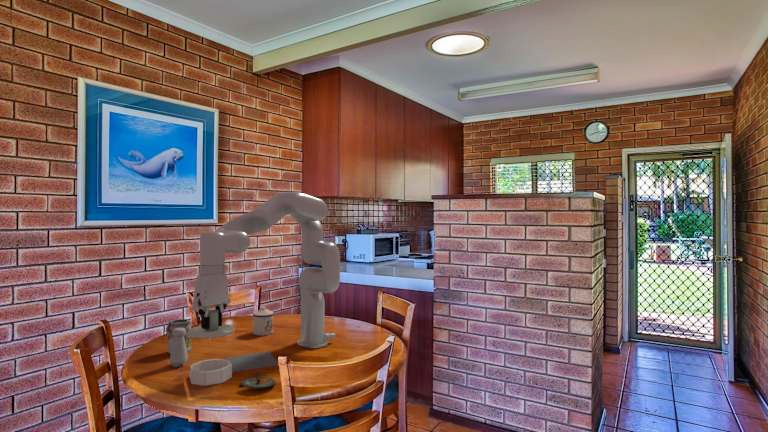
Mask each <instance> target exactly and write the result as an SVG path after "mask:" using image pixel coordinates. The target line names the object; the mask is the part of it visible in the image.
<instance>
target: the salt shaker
mask: <svg viewBox="0 0 768 432" xmlns="http://www.w3.org/2000/svg"><path fill="white" fill-rule="evenodd" d="M185 333H186V330H185V329H184V328H175V329H174V330H173V331H172V335H173V336H174V341H173V346H172V351H171V355H170V354H169V356H170V357H169V362H170V364H171V366H172V367H173V368H181V367H184V364H186V363H187V361H188V359H189V355H188V352H187V349H186V344H185V339H184V335H185Z"/></svg>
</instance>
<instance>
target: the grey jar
mask: <svg viewBox="0 0 768 432" xmlns="http://www.w3.org/2000/svg"><path fill="white" fill-rule="evenodd" d="M191 324H192V321H191V320H189V319H185V318H178V319H172V320H169V321H168V324H167V326H166V327H165V333H166V334H167V353H168V354H169V356H170V355H171V351H172V346H173V341H174V336H173V335H172V331H173V330H174V329H175V328H184V329H185V330H186V333H185V335H184V339H185V344H186V349H187V353H188V352H190V351H191V350H192V337H190V336H188V330H190V329H191V328H192V325H191Z"/></svg>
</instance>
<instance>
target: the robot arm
mask: <svg viewBox="0 0 768 432" xmlns="http://www.w3.org/2000/svg"><path fill="white" fill-rule="evenodd" d="M288 215H290V217H291V218H292V219H294V220H295V221H296V222H297V223H298V225H299V226H300V228H301V236H302V238H301V240H302V241H301V246H302V249H301V250H302V251H301V253H302V258H303V261H304V262H305V263H306V264H308V265H316V266H321V267H315V266H313V267H312V266H311V267H306V268H304V269H302V270H301V272H300V273H299V276H298V284H299V291H300V303H301V304H300V310H301V311H300V312H301V313H300V339H298V340H297V341H296V344H297V345H298V346H300V347H304V348H305V349H309V350H310V349H312V350H314V349H321V348H323V347H326V346H328V345H329V339H335V338H336V333H335V332H332V333H331V332H325V306H326V304H325V297H324V294H332V293H335V292H336V291H337V290H338V288H339V287H340V282H341V255H340V254H341V253H340V250H339V247H338V246H337V245H336V244H335V243H333V242H331V241H324V230H323V225H322V224H321V221H323V220H324V219H325V218H326V217H327V215H328V205H327V204H326V202H325V201H324V200H323V199H321V198H318V197H314V196H312V195H309V194H306V193H302V192H299V191H281V192H277V193H276V194H274V195H273V196H271V197H270V198H269V199H267V200H266V201H265V202H263V203H262V204H261V205H258V207H256V208H255V209H253V210H251V211H248V212H245V213H243V214H242V215H240V216H237V217H234V218H233V219H231V220H229V221H227V222H226V223H224V224H223V225H221V226H220V227H219V228H217V229H216V230H215V231H203V232H201V233H200V236H199V274H198V275H197V274H196V275H197V276H196V279H195V282H194V288H193V289H194V290H193V303H192V306H191V310H192V311H194V312H196V313H197V314H198V316H199V317H200V326H201V328H202V329H206V330H208V329H209V328H210V317H208V313H209V310H210V308H211V307H214V310H219V317H218V326H222V324H223V314H224V313H225V310H226V308H227V307H228V306H229V305H230V303H232V301H231V299H230V297H229V284H228V277H227V273H226V270H227V269H228V266H227V265H226V253H229V254H241V253H244V252H246V251H247V250H248V249H249V248H250V246H251V238H250V236H249V235H251V234H255V233H256V234H257V233H260V232H265V231H266V230H267V231H268V230H269V229H271V228H272V227H273V226H274V225H276V224H277V223H278V222H279V221H281V220H282V219H283V218H284V217H287V216H288Z"/></svg>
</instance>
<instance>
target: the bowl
mask: <svg viewBox="0 0 768 432" xmlns="http://www.w3.org/2000/svg"><path fill="white" fill-rule="evenodd" d="M232 377H233V372H232V364H231V362H230V360H226V359H225V358H224V359H223V358H212V359H203V360H200V361H197V362H195V363H192V364H191V365H189V380H190V383H191V384H192V385H197V386H204V387H205V386H206V387H207V386H211V385H212V386H213V385H218V384H222V383H224V382H227V381H228V380H230V379H231V378H232Z"/></svg>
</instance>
